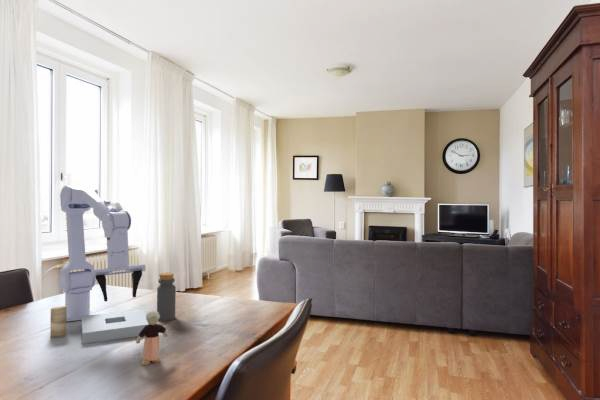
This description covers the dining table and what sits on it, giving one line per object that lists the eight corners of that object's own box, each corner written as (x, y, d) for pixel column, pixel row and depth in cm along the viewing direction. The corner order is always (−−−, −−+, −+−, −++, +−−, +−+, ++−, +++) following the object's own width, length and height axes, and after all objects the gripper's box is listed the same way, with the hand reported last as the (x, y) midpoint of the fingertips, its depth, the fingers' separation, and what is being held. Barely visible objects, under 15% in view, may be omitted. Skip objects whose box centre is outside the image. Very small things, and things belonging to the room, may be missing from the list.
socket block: (81, 325, 128) (81, 316, 128) (142, 318, 136) (142, 309, 136) (82, 344, 112) (82, 333, 112) (151, 334, 121) (151, 323, 121)
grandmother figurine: (141, 368, 97) (142, 315, 97) (133, 363, 99) (134, 312, 99) (170, 358, 103) (171, 308, 103) (162, 354, 105) (163, 305, 105)
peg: (50, 334, 119) (51, 307, 119) (66, 332, 121) (66, 305, 121) (50, 338, 116) (50, 310, 116) (66, 336, 118) (66, 308, 118)
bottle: (169, 321, 133) (170, 275, 133) (153, 320, 134) (153, 274, 134) (178, 316, 139) (178, 272, 139) (162, 315, 140) (163, 271, 140)
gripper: (90, 255, 113) (93, 304, 112) (146, 250, 120) (148, 296, 119) (90, 254, 119) (92, 301, 118) (142, 249, 126) (144, 294, 125)
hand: (120, 298), depth 119 cm, fingers open, 7 cm apart
